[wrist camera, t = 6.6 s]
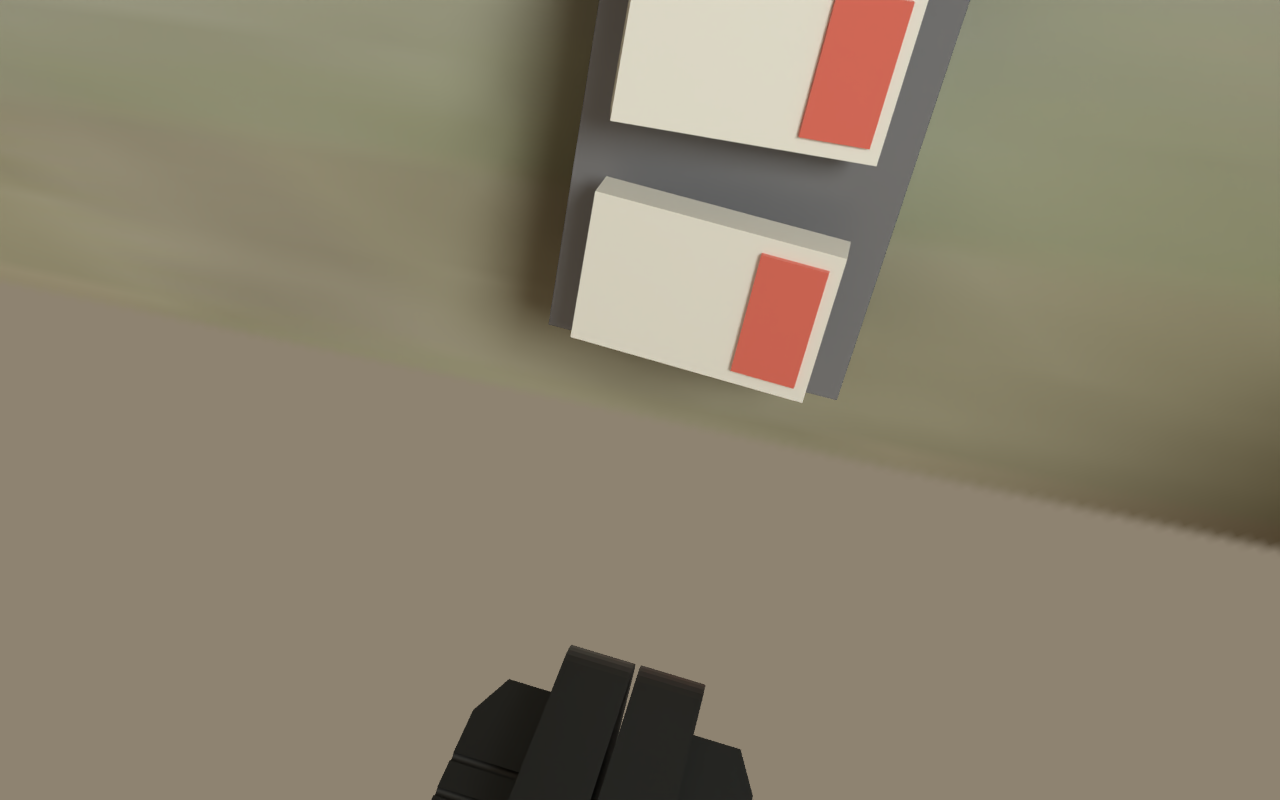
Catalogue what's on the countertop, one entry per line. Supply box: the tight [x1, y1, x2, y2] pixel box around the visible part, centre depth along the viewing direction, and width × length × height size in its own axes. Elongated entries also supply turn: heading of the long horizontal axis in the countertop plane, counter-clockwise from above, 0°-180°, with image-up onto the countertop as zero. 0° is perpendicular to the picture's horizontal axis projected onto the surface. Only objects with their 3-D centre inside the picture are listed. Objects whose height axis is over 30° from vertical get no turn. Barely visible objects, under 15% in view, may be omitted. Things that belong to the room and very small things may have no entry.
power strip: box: [549, 0, 970, 400], centre depth 27 cm, size 8×18×5 cm, turn 169°
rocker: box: [571, 176, 851, 403], centre depth 28 cm, size 6×4×1 cm, turn 79°
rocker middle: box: [610, 0, 929, 166], centre depth 24 cm, size 6×4×1 cm, turn 80°
